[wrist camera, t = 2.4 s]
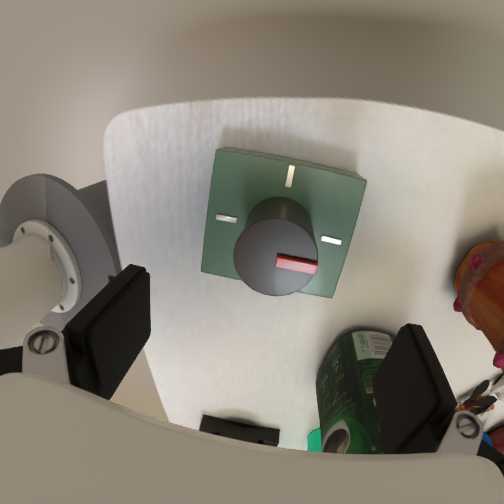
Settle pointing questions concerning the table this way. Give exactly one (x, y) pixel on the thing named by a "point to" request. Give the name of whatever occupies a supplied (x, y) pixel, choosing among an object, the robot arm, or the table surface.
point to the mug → (484, 293)
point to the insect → (477, 398)
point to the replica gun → (499, 389)
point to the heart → (498, 439)
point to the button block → (240, 431)
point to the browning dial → (276, 248)
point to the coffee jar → (351, 394)
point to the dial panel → (281, 185)
